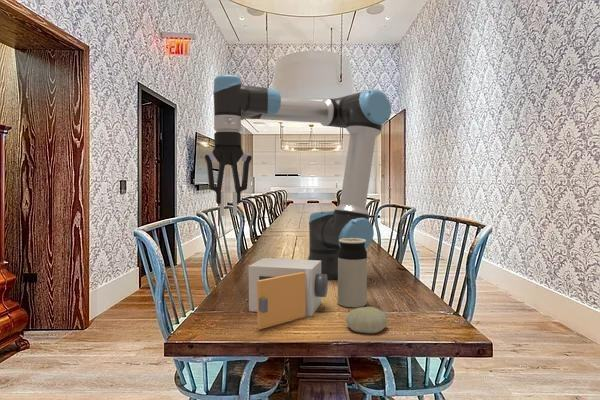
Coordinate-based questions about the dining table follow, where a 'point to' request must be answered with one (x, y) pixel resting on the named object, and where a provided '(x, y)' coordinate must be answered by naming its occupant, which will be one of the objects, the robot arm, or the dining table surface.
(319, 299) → the case
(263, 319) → the hatch
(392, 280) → the dining table surface
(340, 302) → the travel mug
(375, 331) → the sea urchin shell
